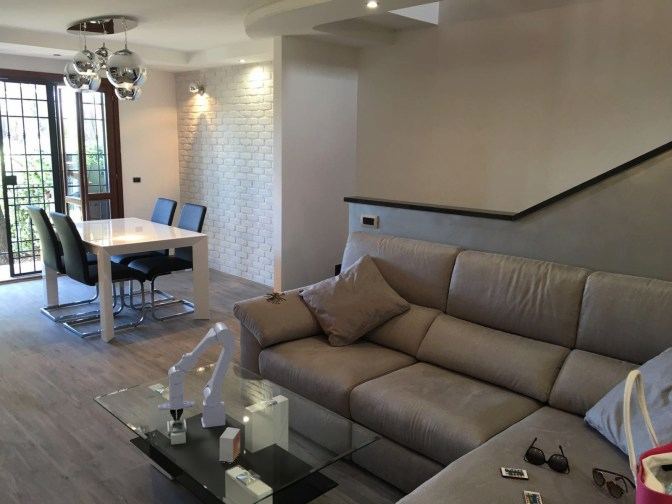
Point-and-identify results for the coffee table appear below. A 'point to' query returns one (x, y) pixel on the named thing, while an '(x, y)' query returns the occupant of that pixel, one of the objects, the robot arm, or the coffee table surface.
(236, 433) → the small box
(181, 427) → the steel block
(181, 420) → the sliding jaw
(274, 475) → the coffee table surface
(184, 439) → the vise frame
